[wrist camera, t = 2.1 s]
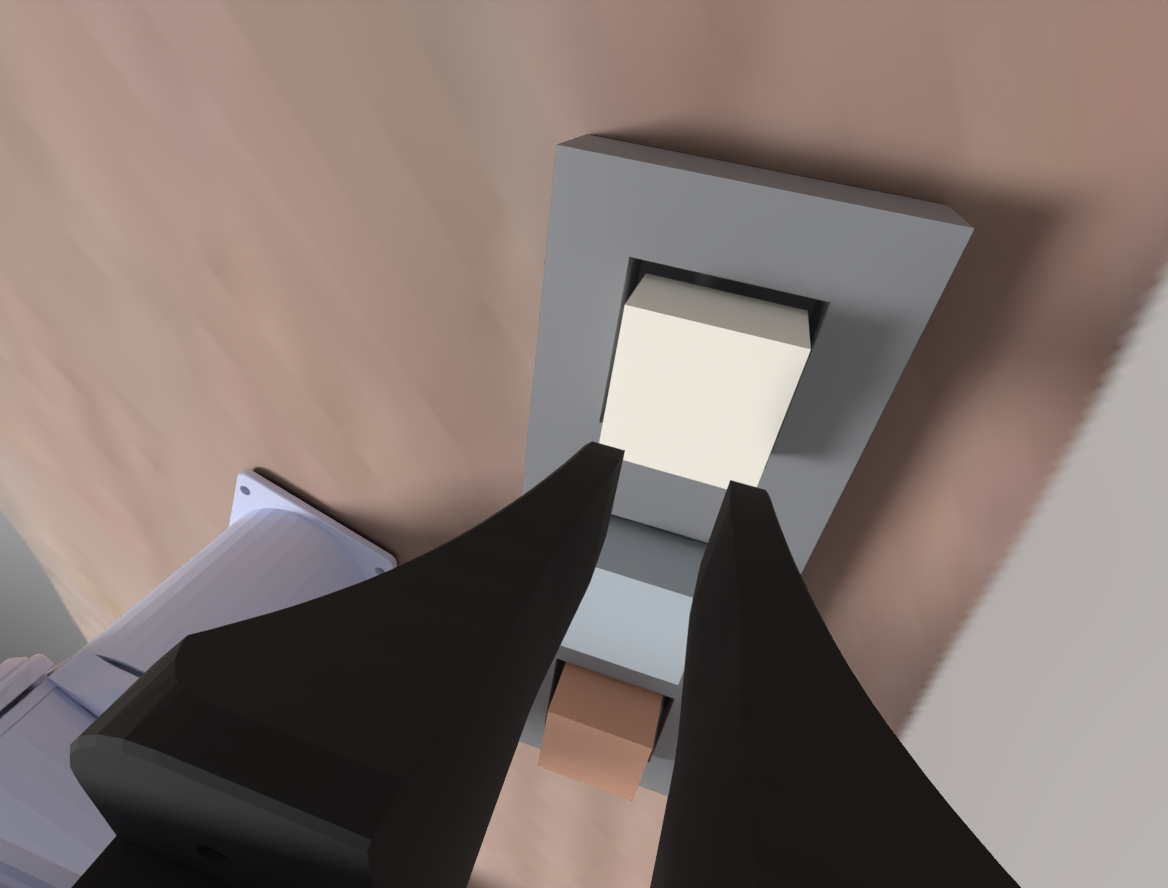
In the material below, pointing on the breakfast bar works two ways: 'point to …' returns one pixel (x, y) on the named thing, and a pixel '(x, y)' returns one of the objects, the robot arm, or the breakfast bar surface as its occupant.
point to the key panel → (745, 267)
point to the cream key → (702, 380)
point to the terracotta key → (600, 730)
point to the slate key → (639, 600)
